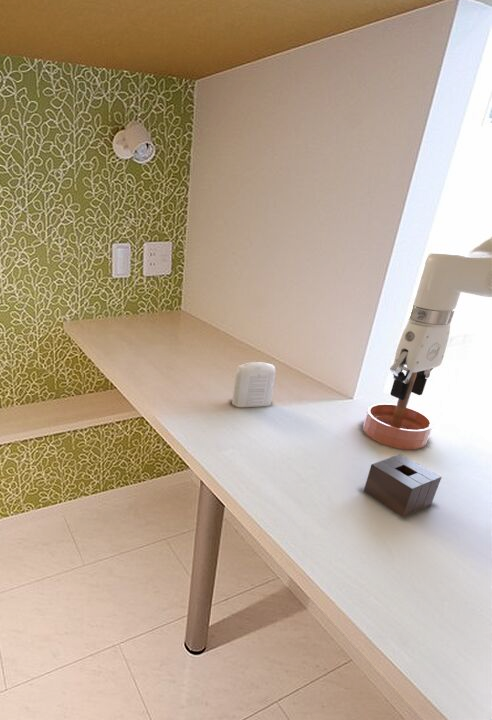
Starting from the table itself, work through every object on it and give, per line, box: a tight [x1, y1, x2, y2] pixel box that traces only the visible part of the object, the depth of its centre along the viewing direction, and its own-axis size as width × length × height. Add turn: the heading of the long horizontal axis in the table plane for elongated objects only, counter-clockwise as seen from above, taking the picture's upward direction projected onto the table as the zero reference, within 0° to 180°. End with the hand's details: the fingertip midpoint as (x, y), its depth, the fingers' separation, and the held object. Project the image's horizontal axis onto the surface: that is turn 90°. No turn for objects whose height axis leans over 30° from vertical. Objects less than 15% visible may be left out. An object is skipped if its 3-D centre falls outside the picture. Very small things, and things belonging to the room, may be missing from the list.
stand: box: [363, 453, 442, 518], centre depth 79 cm, size 8×8×7 cm
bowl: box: [362, 403, 434, 450], centre depth 101 cm, size 13×13×6 cm
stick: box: [389, 371, 417, 428], centre depth 98 cm, size 2×2×16 cm
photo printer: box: [231, 361, 276, 408], centre depth 113 cm, size 10×4×12 cm, turn 98°
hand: (406, 394), depth 97 cm, fingers open, 5 cm apart
